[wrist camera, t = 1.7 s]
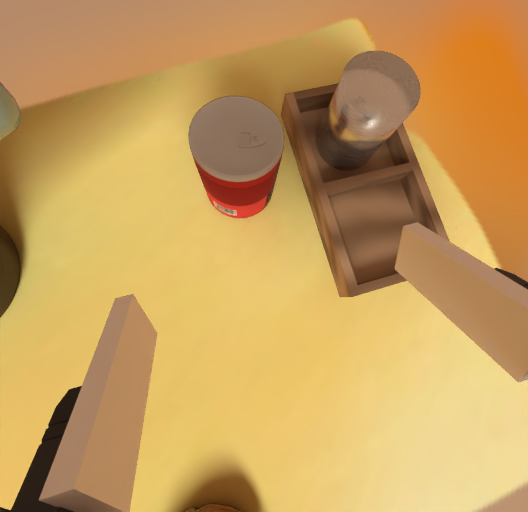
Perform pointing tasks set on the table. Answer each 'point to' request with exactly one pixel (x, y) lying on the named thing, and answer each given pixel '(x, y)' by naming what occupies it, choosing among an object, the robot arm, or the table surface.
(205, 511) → the bread roll
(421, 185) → the walnut crate
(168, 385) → the table surface
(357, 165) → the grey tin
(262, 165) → the canned food
